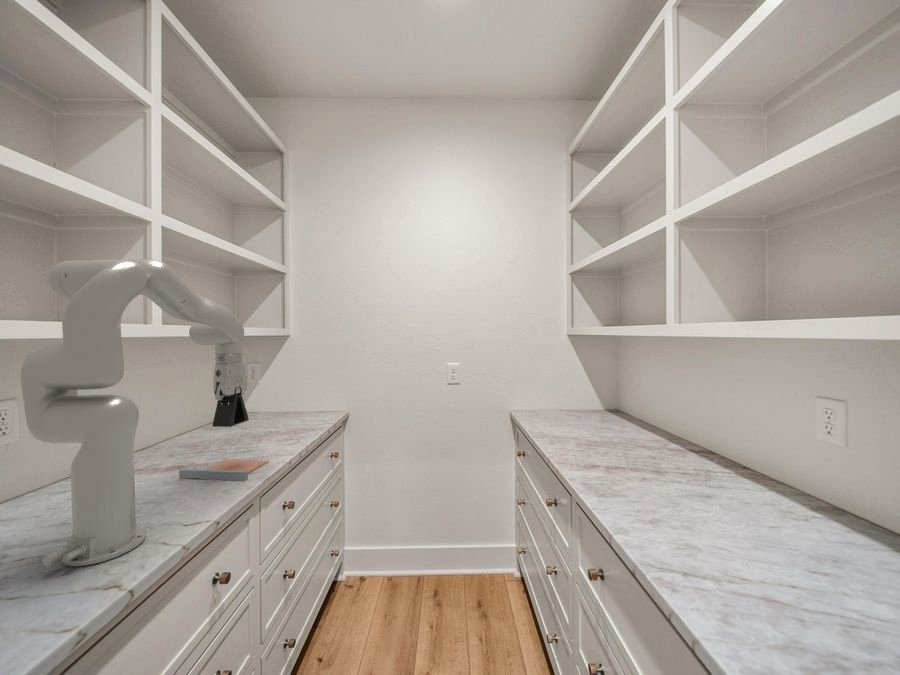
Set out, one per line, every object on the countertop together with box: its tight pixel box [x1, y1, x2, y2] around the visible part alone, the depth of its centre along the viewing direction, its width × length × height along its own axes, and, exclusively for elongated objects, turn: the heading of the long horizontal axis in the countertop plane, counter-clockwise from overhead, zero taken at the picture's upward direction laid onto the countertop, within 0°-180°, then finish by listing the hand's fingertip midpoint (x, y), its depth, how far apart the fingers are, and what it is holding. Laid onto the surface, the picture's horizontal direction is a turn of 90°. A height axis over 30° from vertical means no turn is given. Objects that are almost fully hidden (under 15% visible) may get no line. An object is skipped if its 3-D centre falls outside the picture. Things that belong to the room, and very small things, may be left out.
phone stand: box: [212, 387, 250, 428], centre depth 120 cm, size 9×6×12 cm, turn 172°
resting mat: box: [204, 459, 270, 474], centre depth 122 cm, size 13×16×1 cm
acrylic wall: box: [178, 468, 249, 482], centre depth 113 cm, size 1×22×2 cm, turn 82°
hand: (231, 415), depth 121 cm, fingers closed on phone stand, 1 cm apart
